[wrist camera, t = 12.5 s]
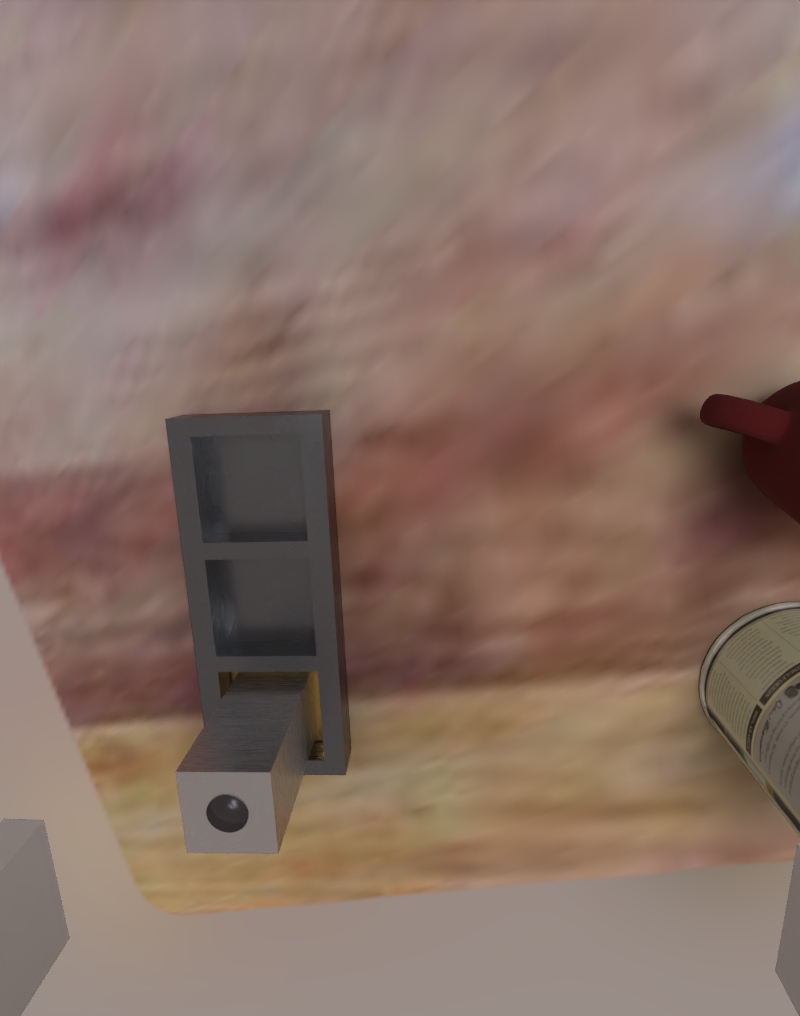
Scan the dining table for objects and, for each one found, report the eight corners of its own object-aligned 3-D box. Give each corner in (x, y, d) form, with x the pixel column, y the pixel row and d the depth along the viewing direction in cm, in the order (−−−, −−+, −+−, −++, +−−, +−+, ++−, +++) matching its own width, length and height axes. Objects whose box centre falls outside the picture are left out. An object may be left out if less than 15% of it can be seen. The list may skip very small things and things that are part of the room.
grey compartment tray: (182, 415, 35) (163, 419, 33) (329, 410, 35) (321, 413, 32) (222, 749, 40) (208, 774, 38) (351, 749, 40) (345, 774, 37)
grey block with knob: (241, 667, 38) (174, 773, 28) (312, 666, 38) (269, 773, 28) (248, 730, 39) (186, 854, 29) (317, 730, 39) (277, 855, 29)
